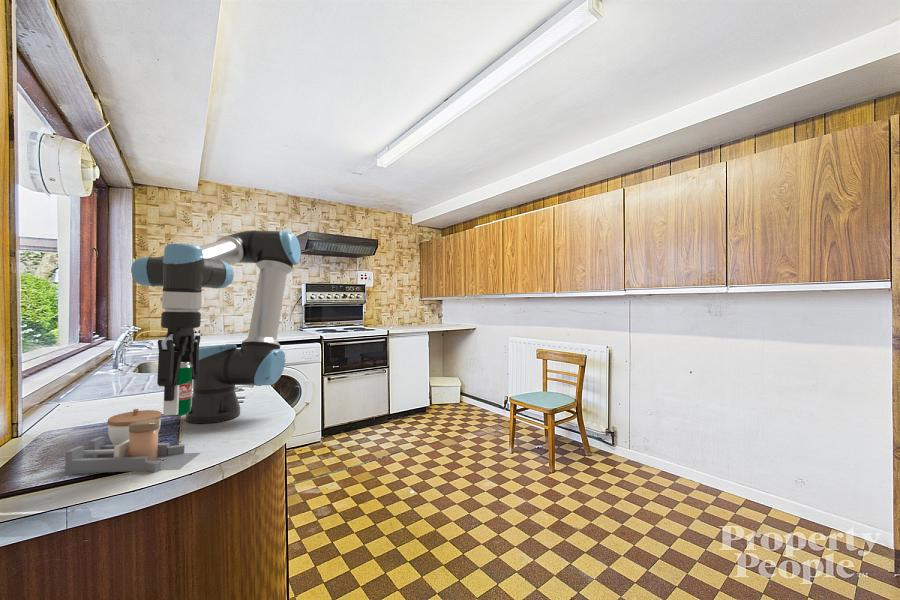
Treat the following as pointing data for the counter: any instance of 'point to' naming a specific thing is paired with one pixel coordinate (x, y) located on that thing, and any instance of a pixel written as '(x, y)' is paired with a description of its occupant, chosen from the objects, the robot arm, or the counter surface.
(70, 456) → the grey divided tray
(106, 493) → the counter surface
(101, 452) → the pusher
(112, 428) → the lidded jar
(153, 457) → the jar
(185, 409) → the soda can
